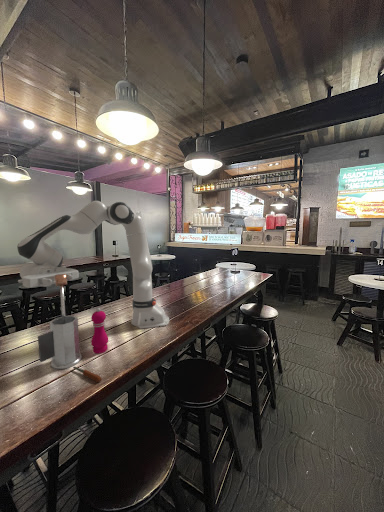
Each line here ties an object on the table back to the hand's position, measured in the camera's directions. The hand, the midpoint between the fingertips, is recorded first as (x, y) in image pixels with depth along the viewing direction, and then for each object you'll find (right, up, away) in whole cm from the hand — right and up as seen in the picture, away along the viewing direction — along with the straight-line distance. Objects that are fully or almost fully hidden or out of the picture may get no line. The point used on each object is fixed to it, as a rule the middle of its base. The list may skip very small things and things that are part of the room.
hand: (62, 280), depth 86 cm
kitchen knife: (+12, -36, -4) cm, 38 cm away
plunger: (-1, -24, +3) cm, 24 cm away
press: (-1, -35, +3) cm, 35 cm away
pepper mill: (+10, -34, +13) cm, 38 cm away
